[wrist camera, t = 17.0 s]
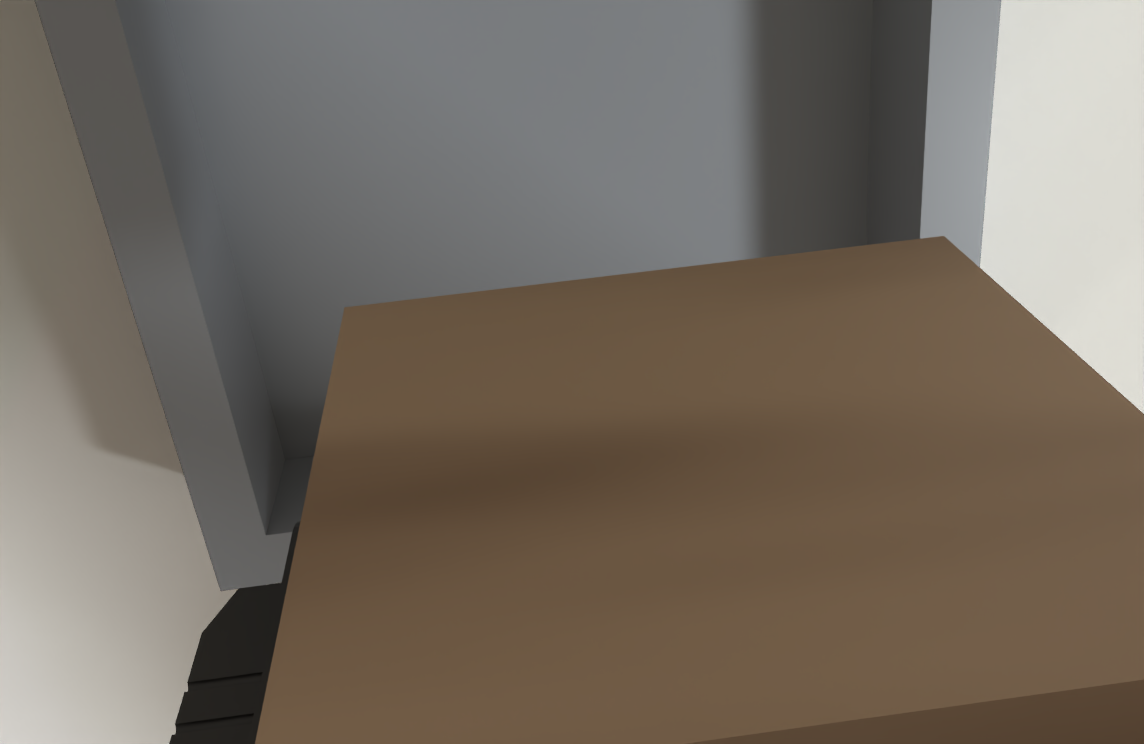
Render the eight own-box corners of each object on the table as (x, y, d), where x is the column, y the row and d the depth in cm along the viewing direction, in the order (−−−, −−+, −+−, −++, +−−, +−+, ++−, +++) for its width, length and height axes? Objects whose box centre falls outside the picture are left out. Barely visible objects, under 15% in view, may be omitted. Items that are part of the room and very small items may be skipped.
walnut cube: (909, 681, 12) (1191, 1231, 7) (433, 747, 11) (423, 1356, 7) (943, 235, 9) (1400, 643, 5) (344, 306, 9) (242, 805, 5)
